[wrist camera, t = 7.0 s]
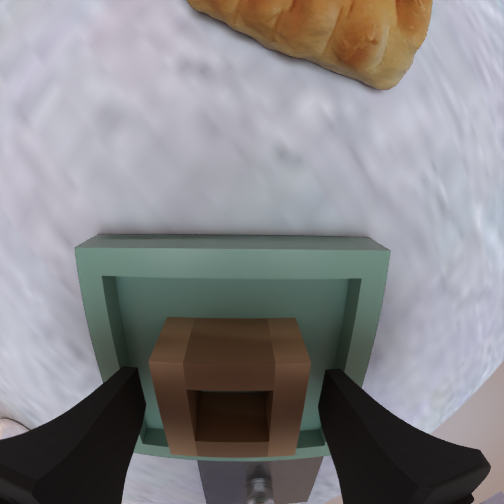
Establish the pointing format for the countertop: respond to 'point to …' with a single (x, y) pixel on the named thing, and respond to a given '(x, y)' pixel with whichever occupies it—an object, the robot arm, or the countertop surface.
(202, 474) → the grey peg base
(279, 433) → the collar
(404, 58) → the pastry
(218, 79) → the countertop surface
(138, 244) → the tray
